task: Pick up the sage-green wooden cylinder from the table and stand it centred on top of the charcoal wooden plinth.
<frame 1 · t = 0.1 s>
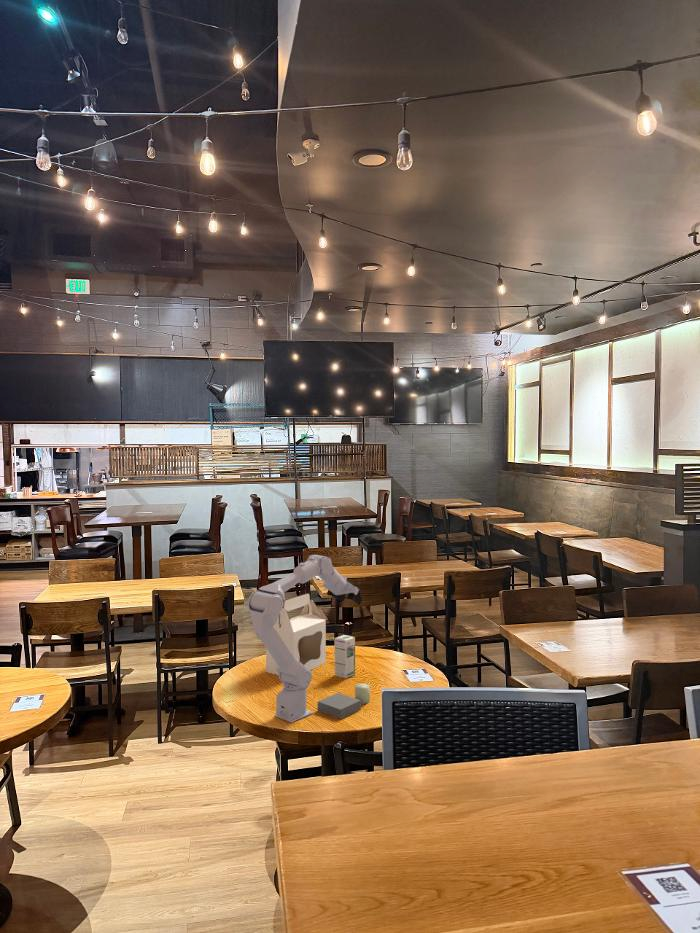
hand: (352, 600, 218), 32 cm above the table, tool tilted 50°, fingers open, 7 cm apart
gable box: (296, 668, 242), on the table
green cylinder: (362, 701, 209), on the table
syrup box: (344, 675, 234), on the table
charcoal plinth: (339, 710, 201), on the table
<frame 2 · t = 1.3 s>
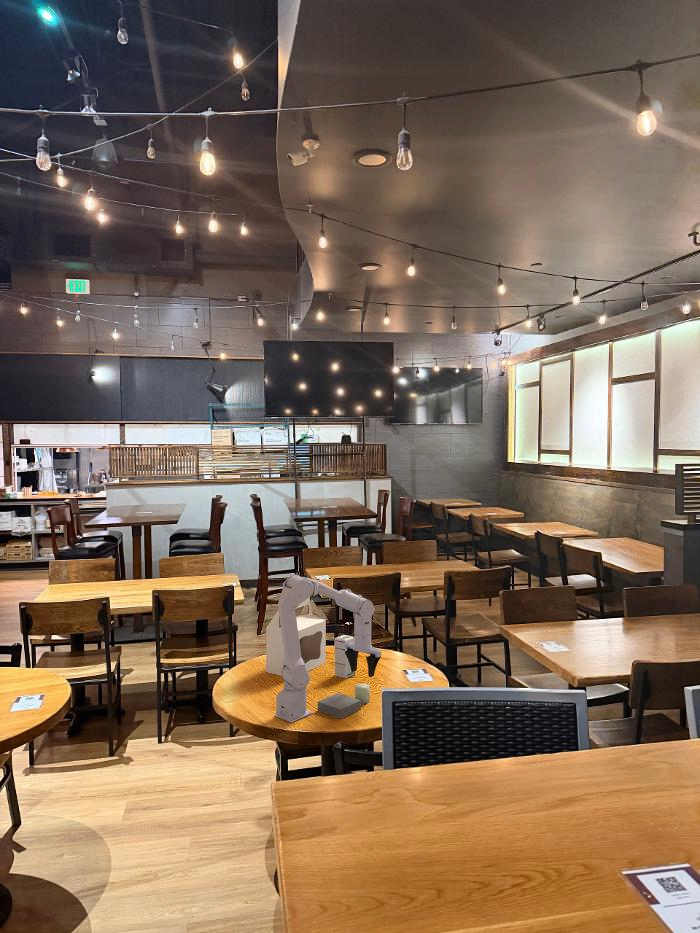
hand: (362, 673, 209), 9 cm above the table, tool pointing down, fingers open, 7 cm apart
nothing on the table moved.
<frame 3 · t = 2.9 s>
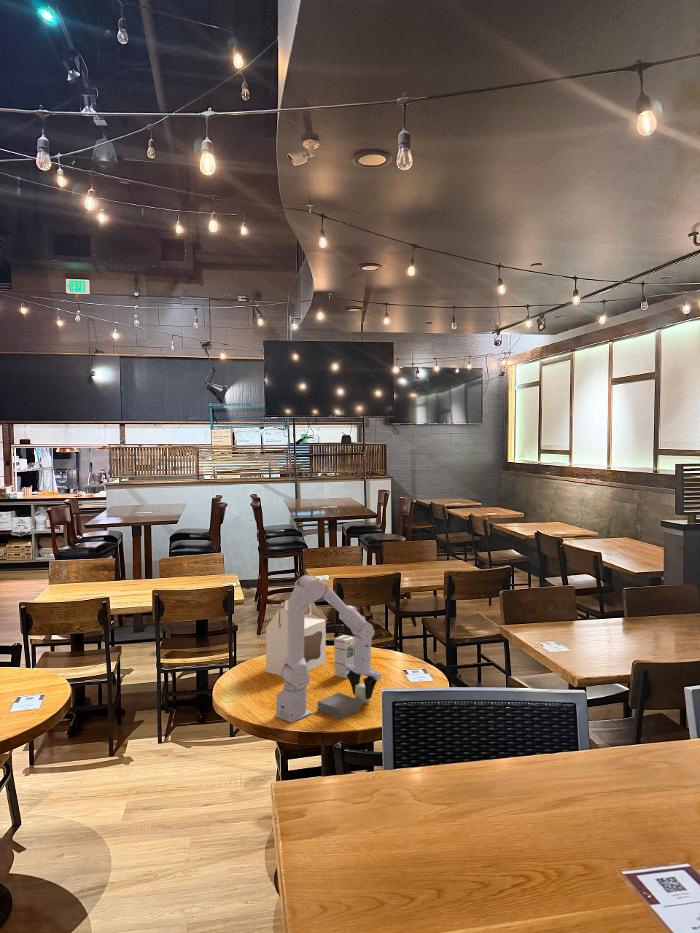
hand: (362, 696, 209), 2 cm above the table, tool pointing down, fingers closed on green cylinder, 5 cm apart
green cylinder: (362, 700, 209), on the table, touching gripper
everything else where it was.
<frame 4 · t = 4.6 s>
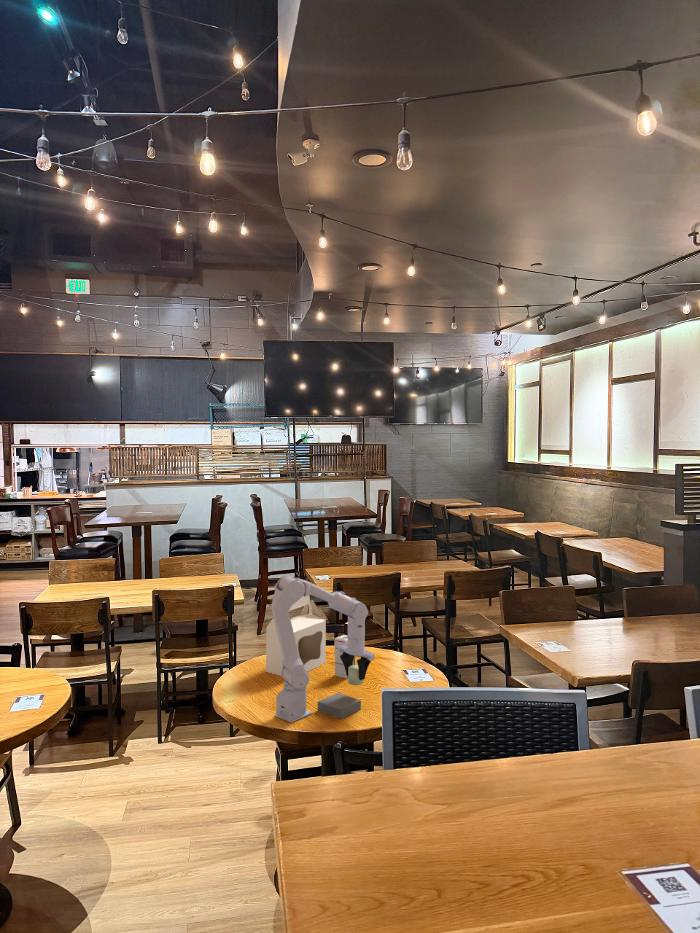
hand: (355, 677, 206), 9 cm above the table, tool pointing down, fingers closed on green cylinder, 5 cm apart
green cylinder: (355, 682, 207), point 7 cm above the table, touching gripper
everything else where it was.
when the fingers open (6 cm above the table, at t = 6.5 s): green cylinder drops 1 cm, resting on charcoal plinth.
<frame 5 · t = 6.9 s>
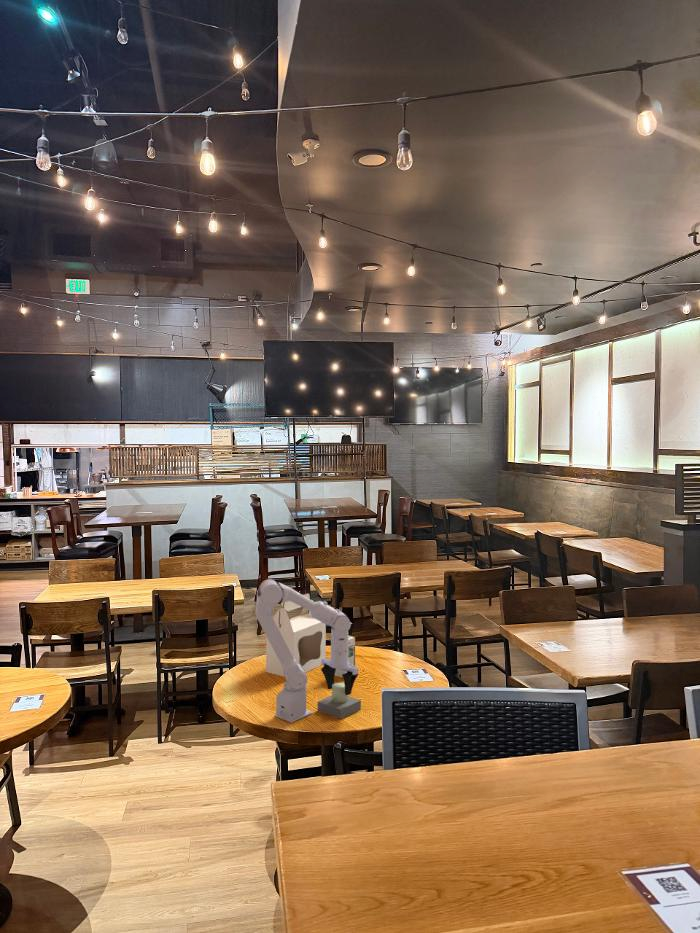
hand: (339, 691, 201), 6 cm above the table, tool pointing down, fingers open, 7 cm apart
green cylinder: (339, 700, 201), point 3 cm above the table, touching charcoal plinth
everything else where it was.
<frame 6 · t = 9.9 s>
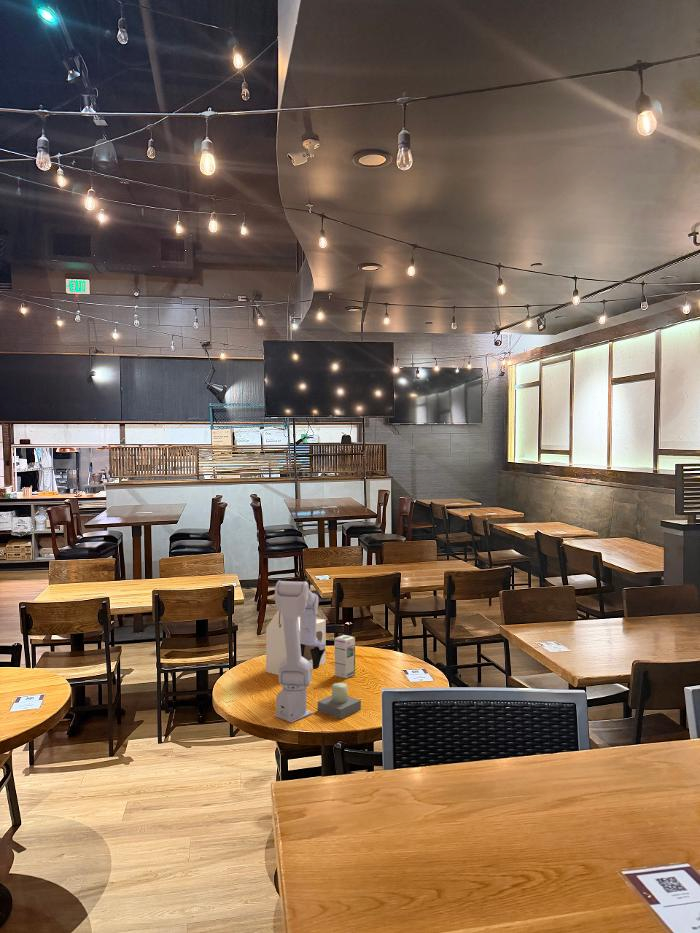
hand: (308, 665, 216), 9 cm above the table, tool pointing down, fingers open, 7 cm apart
nothing on the table moved.
at the end: green cylinder 0.1 cm off-centre on the charcoal plinth, point 3.0 cm above the charcoal plinth's base; green cylinder tilted 0°; the gripper is holding nothing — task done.
